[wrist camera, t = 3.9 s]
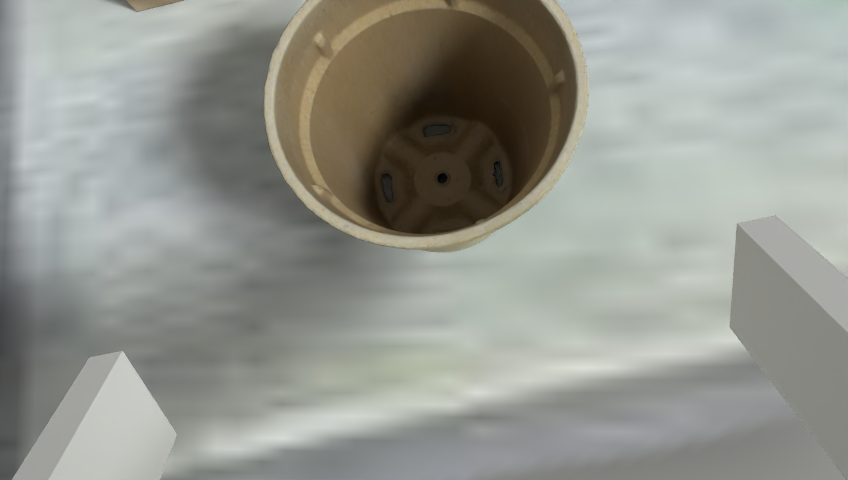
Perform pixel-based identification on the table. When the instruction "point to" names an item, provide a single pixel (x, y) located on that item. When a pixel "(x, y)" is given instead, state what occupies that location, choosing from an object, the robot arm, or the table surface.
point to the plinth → (148, 3)
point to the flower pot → (425, 114)
